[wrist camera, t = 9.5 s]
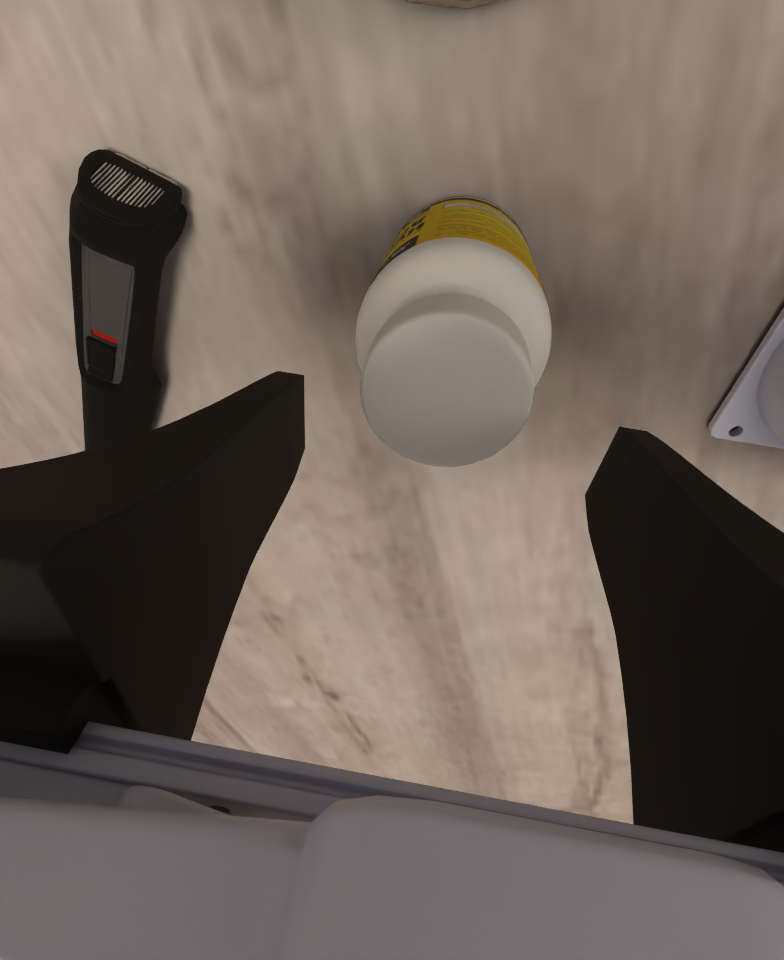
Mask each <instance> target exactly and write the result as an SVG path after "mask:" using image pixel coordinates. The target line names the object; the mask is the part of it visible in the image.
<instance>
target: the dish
mask: <svg viewBox="0 0 784 960" xmlns="http://www.w3.org/2000/svg"><path fill="white" fill-rule="evenodd" d="M406 1H412V2H419V3H427V4H435V5H443V6H450V7H458V8H468V7H469V8H472V7H476V6H479V5H482V4H485V3H488V2H492V1H495V0H406Z"/></svg>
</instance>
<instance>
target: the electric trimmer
mask: <svg viewBox="0 0 784 960" xmlns="http://www.w3.org/2000/svg"><path fill="white" fill-rule="evenodd" d="M119 154H120V153H113V152H111V151H108V150H100V149H99V150H96V151H93V152H91V153H90V154H88V155H87V156H86V157H85V158H84V160H83V162H82V164H81V166H80V168H79V173H78V182H77V185H76V187H75V190H74V192H73V194H72V197H71V203H70V228H69V247H70V262H71V277H72V291H73V306H74V321H75V336H76V347H77V356H78V365H79V369H80V374H81V383H82V401H83V419H84V438H85V451H86V450H90V449H93V448H97V447H100V446H104V445H108V444H111V443H115V442H119V441H122V440H125V439H128V438H132V437H134V436H137V435H140V434H143V433H146V432H149V431H150V430H151V427H152V423H153V420H154V416H155V413H156V410H157V406H158V402H159V397H160V393H161V389H162V382H161V380H160V379H159V377H158V375H157V374H156V372H155V370H154V368H153V367H152V348H153V340H154V331H155V323H156V314H157V306H158V297H159V289H160V280H161V272H162V267H163V264H164V261H165V258H166V256H167V255H168V254H169V252H170V251H171V250H172V248H173V247H174V245H175V244H176V243H177V241H178V239H179V237H180V235H181V233H182V231H183V229H184V226H185V222H186V218H187V210H186V208H185V207H184V206H183V205H182V204H181V199H182V189H181V188H180V186H181V185H182V184H181V185H179V186H178V185H177V184H178V182H177V183H176V181H175V182H174V180H173V181H172V179H171V180H170V178H169V179H168V177H167V178H166V176H165V177H164V175H163V176H162V175H160V173H159V174H158V172H157V173H156V171H155V172H154V170H153V171H152V169H149V170H147V169H146V166H145V167H144V165H142V164H141V165H140V163H138V162H137V163H136V161H134V160H132V159H130V158H129V159H128V157H126V156H124V155H122V154H120V155H119ZM123 156H124V157H123Z"/></svg>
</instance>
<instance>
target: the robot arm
mask: <svg viewBox="0 0 784 960" xmlns="http://www.w3.org/2000/svg"><path fill="white" fill-rule="evenodd" d="M736 426H738V428H737V429H736V430H734V431H730V430H731V429H732V428H733V427H736ZM708 431H709V432H710V434H711V435H712V436H713V437H715V438H718V439H724V440H730V441H737V442H743V443H750V444H756V445H762V446H769V447H775V448H782V449H784V308H783V309H782V311H781V312H780V314H779V315H778V317H777V318H776V320H775V322H774V323H773V325H772V326H771V328H770V329H769V331H768V333H767V334H766V336H765V337H764V339H763V340H762V342H761V344H760V345H759V347H758V348H757V350H756V351H755V353H754V354H753V356H752V358H751V359H750V361H749V362H748V364H747V365H746V367H745V369H744V370H743V372H742V373H741V375H740V376H739V378H738V379H737V381H736V383H735V384H734V386H733V387H732V389H731V390H730V392H729V394H728V395H727V397H726V398H725V400H724V401H723V403H722V404H721V406H720V408H719V409H718V411H717V412H716V414H715V415H714V417H713V419H712V420H711V422H710V423H709V426H708ZM304 449H305V420H304V375H299V374H293V373H287V372H281V371H277V372H274V373H272V374H270V375H268V376H266V377H264V378H262V379H260V380H258V381H256V382H254V383H252V384H250V385H249V386H247V387H245V388H243V389H241V390H239V391H237V392H235V393H233V394H232V395H230V396H228V397H226V398H224V399H222V400H220V401H218V402H216V403H214V404H212V405H210V406H208V407H205V408H203V409H201V410H199V411H197V412H195V413H192V414H190V415H188V416H186V417H184V418H182V419H179V420H177V421H175V422H172V423H170V424H167V425H165V426H162V427H160V428H157V429H154V430H152V431H149V432H146V433H143V434H140V435H137V436H134V437H132V438H128V439H125V440H122V441H119V442H115V443H111V444H108V445H104V446H100V447H97V448H93V449H90V450H86V451H82V452H79V453H75V454H71V455H67V456H62V457H58V458H53V459H49V460H44V461H39V462H34V463H29V464H24V465H19V466H13V467H8V468H2V469H0V960H784V533H783V532H782V531H780V530H779V529H777V528H776V527H774V526H773V525H771V524H770V523H768V522H767V521H766V520H764V519H763V518H761V517H760V516H759V515H757V514H756V513H754V512H753V511H752V510H750V509H749V508H747V507H746V506H745V505H743V504H742V503H741V502H739V501H738V500H737V499H735V498H734V497H733V496H731V495H730V494H729V493H727V492H726V491H725V490H724V489H722V488H721V487H720V486H718V485H717V484H716V483H715V482H713V481H712V480H711V479H710V478H708V477H707V476H706V475H704V474H703V473H702V472H701V471H699V470H698V469H697V468H696V467H695V466H693V465H692V464H691V463H690V462H688V461H687V460H686V459H685V458H683V457H682V456H681V455H680V454H678V453H677V452H676V451H674V450H673V449H672V448H671V447H669V446H668V445H667V444H665V443H664V442H663V441H661V440H660V439H658V438H657V437H655V436H654V435H652V434H651V433H649V432H647V431H642V430H636V429H630V428H624V427H619V429H618V431H617V433H616V435H615V437H614V439H613V441H612V443H611V445H610V447H609V449H608V451H607V452H606V454H605V456H604V458H603V460H602V462H601V464H600V466H599V468H598V470H597V472H596V474H595V476H594V478H593V480H592V482H591V484H590V486H589V488H588V490H587V492H586V494H585V499H586V511H587V521H588V529H589V534H590V538H591V542H592V546H593V550H594V554H595V558H596V561H597V565H598V569H599V572H600V576H601V580H602V583H603V587H604V591H605V594H606V598H607V601H608V605H609V609H610V612H611V616H612V621H613V625H614V630H615V634H616V641H617V647H618V654H619V661H620V667H621V674H622V682H623V691H624V699H625V708H626V716H627V727H628V739H629V751H630V764H631V779H632V801H633V822H634V825H633V824H628V823H623V822H618V821H612V820H607V819H602V818H596V817H591V816H586V815H581V814H575V813H570V812H565V811H559V810H554V809H549V808H543V807H538V806H533V805H528V804H522V803H517V802H512V801H506V800H501V799H496V798H491V797H485V796H480V795H475V794H469V793H464V792H459V791H454V790H448V789H443V788H438V787H432V786H427V785H422V784H416V783H411V782H406V781H401V780H395V779H390V778H385V777H379V776H374V775H369V774H364V773H358V772H353V771H348V770H342V769H337V768H332V767H326V766H321V765H316V764H311V763H305V762H300V761H295V760H289V759H284V758H279V757H274V756H268V755H263V754H258V753H252V752H247V751H242V750H237V749H231V748H226V747H221V746H215V745H210V744H205V743H199V742H194V741H191V738H192V735H193V732H194V728H195V725H196V722H197V719H198V715H199V712H200V709H201V706H202V702H203V699H204V696H205V693H206V690H207V687H208V684H209V681H210V678H211V675H212V671H213V668H214V665H215V662H216V659H217V656H218V653H219V650H220V647H221V644H222V642H223V639H224V636H225V633H226V631H227V628H228V625H229V622H230V619H231V617H232V614H233V611H234V608H235V605H236V603H237V600H238V597H239V595H240V592H241V590H242V587H243V584H244V582H245V579H246V576H247V574H248V571H249V569H250V567H251V564H252V562H253V560H254V558H255V556H256V553H257V551H258V550H259V548H260V546H261V544H262V542H263V540H264V538H265V536H266V534H267V532H268V530H269V528H270V526H271V524H272V522H273V521H274V519H275V517H276V515H277V513H278V511H279V509H280V507H281V505H282V503H283V501H284V499H285V497H286V495H287V493H288V491H289V489H290V487H291V485H292V483H293V481H294V478H295V476H296V473H297V470H298V467H299V464H300V461H301V458H302V455H303V452H304Z"/></svg>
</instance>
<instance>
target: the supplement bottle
mask: <svg viewBox="0 0 784 960" xmlns="http://www.w3.org/2000/svg"><path fill="white" fill-rule="evenodd" d="M551 337H552V329H551V319H550V313H549V308H548V304H547V300H546V296H545V294H544V291H543V288H542V285H541V282H540V279H539V276H538V273H537V271H536V268H535V265H534V262H533V259H532V256H531V253H530V250H529V247H528V244H527V242H526V240H525V238H524V236H523V234H522V232H521V230H520V228H519V227H518V225H517V224H516V223H515V222H514V220H513V219H512V218H511V217H510V216H509V215H508V214H507V213H506V212H505V211H503V210H502V209H501V208H499V207H497V206H496V205H494V204H492V203H490V202H488V201H485V200H482V199H478V198H473V197H451V198H447V199H442V200H439V201H437V202H434V203H432V204H430V205H428V206H427V207H425V208H423V209H422V210H421V211H419V212H418V213H417V214H416V215H414V216H413V217H412V218H411V219H410V220H409V221H408V223H407V224H406V225H405V226H404V227H403V228H402V230H401V231H400V232H399V234H398V236H397V238H396V239H395V241H394V243H393V245H392V247H391V249H390V251H389V253H388V254H387V256H386V258H385V260H384V262H383V264H382V265H381V267H380V269H379V271H378V273H377V274H376V276H375V278H374V279H373V281H372V282H371V284H370V286H369V288H368V290H367V293H366V295H365V297H364V300H363V302H362V305H361V308H360V311H359V314H358V318H357V324H356V332H355V347H356V355H357V360H358V364H359V367H360V370H361V373H362V375H361V380H360V395H361V403H362V407H363V411H364V413H365V415H366V418H367V420H368V422H369V424H370V426H371V427H372V429H373V431H374V432H375V433H376V434H377V436H378V437H379V438H380V439H381V440H382V441H383V442H384V443H385V444H386V445H387V446H389V447H390V448H391V449H393V450H394V451H396V452H397V453H399V454H401V455H402V456H404V457H406V458H409V459H411V460H414V461H417V462H419V463H423V464H427V465H432V466H461V465H467V464H472V463H475V462H478V461H481V460H483V459H485V458H488V457H490V456H492V455H494V454H495V453H497V452H499V451H500V450H501V449H503V448H504V447H505V446H507V445H508V444H509V443H510V442H511V441H512V440H513V439H514V438H515V437H516V435H517V434H518V433H519V432H520V430H521V429H522V427H523V426H524V424H525V422H526V420H527V418H528V416H529V413H530V410H531V407H532V403H533V396H534V388H535V387H536V385H537V384H538V382H539V380H540V378H541V376H542V374H543V372H544V369H545V367H546V364H547V361H548V358H549V353H550V348H551Z"/></svg>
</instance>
